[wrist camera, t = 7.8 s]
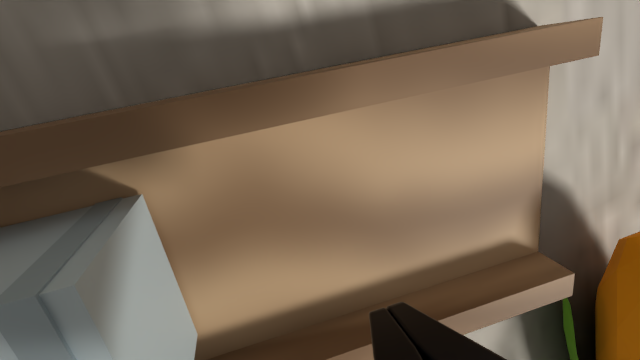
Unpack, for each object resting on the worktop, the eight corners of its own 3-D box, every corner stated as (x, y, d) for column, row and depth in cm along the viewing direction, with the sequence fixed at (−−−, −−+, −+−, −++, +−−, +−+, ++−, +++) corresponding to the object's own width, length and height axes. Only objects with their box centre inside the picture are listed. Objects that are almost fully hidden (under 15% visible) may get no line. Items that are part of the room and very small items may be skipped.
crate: (198, 335, 13) (177, 486, 8) (27, 388, 12) (-107, 595, 7) (141, 192, 11) (70, 286, 6) (-71, 243, 10) (-350, 400, 5)
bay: (527, 265, 17) (633, 336, 13) (32, 429, 13) (-73, 617, 9) (539, 25, 13) (701, 2, 9) (-158, 162, 9) (-530, 251, 5)
